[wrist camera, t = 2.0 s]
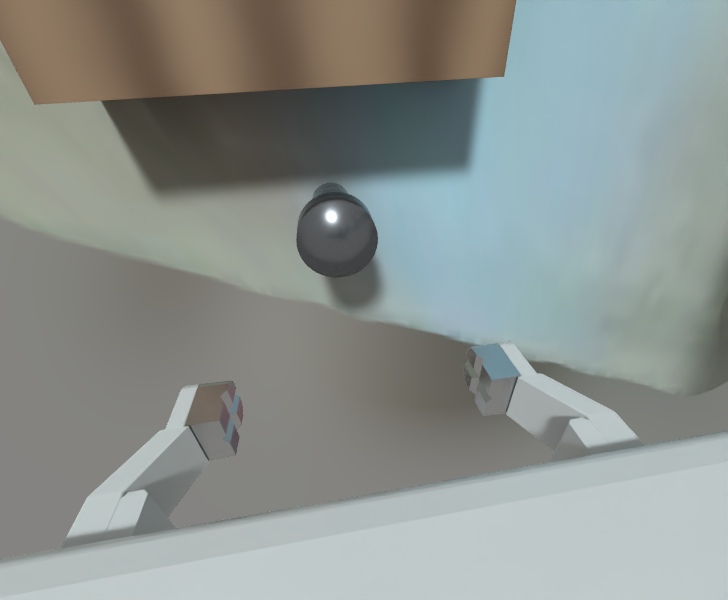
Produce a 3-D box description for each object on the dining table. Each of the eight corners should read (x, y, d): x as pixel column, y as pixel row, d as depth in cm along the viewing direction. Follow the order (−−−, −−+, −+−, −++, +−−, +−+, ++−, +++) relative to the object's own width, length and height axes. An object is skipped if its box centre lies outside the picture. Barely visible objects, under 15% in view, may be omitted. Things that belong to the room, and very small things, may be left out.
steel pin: (360, 166, 26) (376, 198, 19) (363, 228, 28) (378, 272, 22) (294, 172, 25) (290, 206, 19) (304, 233, 28) (303, 281, 22)
